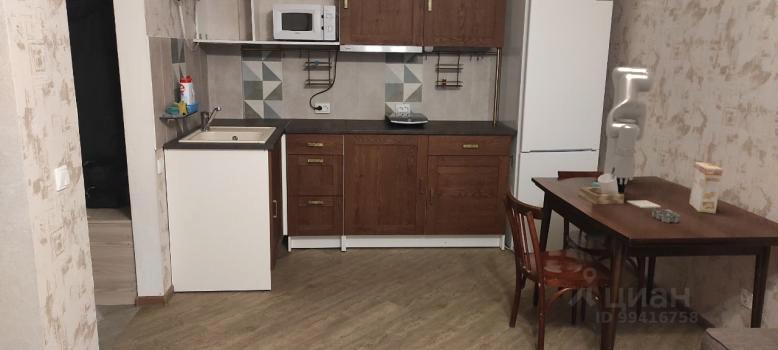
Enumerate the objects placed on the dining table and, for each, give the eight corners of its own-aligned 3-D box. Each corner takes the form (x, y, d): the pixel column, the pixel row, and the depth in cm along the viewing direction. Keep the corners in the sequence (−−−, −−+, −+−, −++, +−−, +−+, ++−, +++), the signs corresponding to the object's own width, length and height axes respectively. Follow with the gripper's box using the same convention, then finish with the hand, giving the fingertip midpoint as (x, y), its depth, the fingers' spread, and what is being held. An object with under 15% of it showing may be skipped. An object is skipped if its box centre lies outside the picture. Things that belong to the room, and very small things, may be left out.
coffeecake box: (716, 213, 257) (723, 169, 253) (698, 212, 258) (705, 168, 254) (705, 204, 271) (712, 162, 267) (688, 203, 272) (695, 161, 268)
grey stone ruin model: (649, 215, 250) (650, 206, 249) (666, 216, 251) (667, 206, 250) (662, 223, 239) (664, 213, 239) (680, 223, 240) (682, 213, 239)
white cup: (618, 190, 275) (614, 171, 271) (621, 199, 268) (617, 180, 265) (600, 194, 278) (596, 175, 274) (603, 202, 271) (599, 183, 267)
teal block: (598, 192, 287) (599, 182, 286) (606, 194, 283) (607, 184, 282) (590, 192, 285) (592, 182, 284) (599, 195, 281) (600, 185, 280)
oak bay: (604, 195, 281) (605, 187, 280) (623, 203, 267) (624, 194, 266) (578, 196, 277) (579, 187, 276) (596, 204, 264) (597, 195, 263)
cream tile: (646, 201, 272) (646, 200, 272) (660, 207, 263) (660, 206, 263) (626, 202, 270) (627, 200, 270) (641, 208, 260) (641, 206, 260)
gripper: (633, 151, 274) (628, 190, 278) (605, 151, 270) (601, 190, 274) (644, 154, 267) (639, 194, 271) (616, 154, 263) (611, 194, 267)
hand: (620, 192), depth 273 cm, fingers closed
